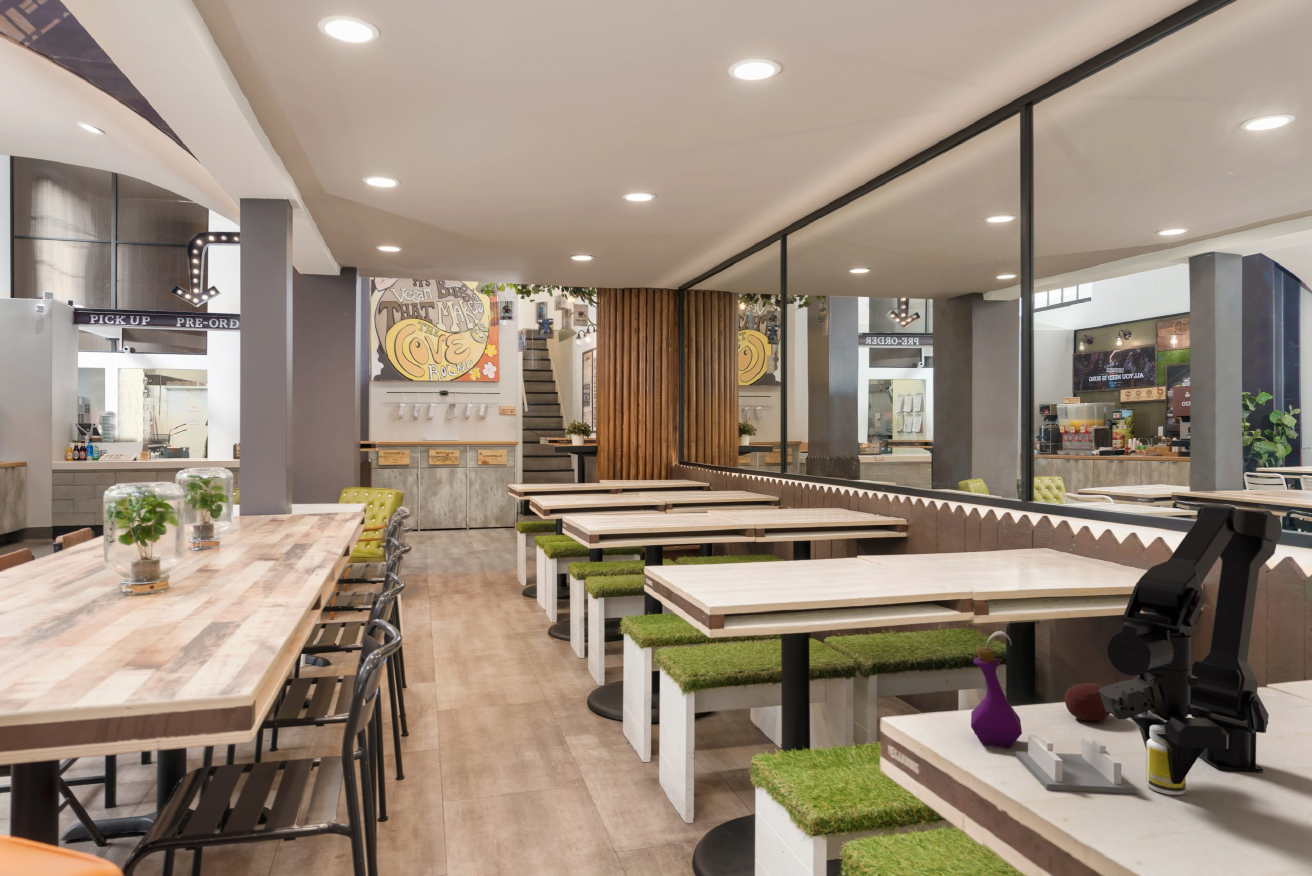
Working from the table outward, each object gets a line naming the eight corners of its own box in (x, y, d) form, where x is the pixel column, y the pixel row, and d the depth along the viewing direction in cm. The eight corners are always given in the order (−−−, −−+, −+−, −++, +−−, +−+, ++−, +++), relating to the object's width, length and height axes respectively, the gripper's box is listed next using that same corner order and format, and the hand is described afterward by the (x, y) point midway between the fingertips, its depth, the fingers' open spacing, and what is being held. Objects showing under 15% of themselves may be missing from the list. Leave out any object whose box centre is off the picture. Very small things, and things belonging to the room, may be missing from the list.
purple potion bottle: (970, 746, 129) (972, 634, 129) (971, 731, 136) (972, 624, 136) (1021, 754, 127) (1023, 639, 127) (1019, 738, 133) (1021, 629, 134)
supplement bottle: (1191, 797, 111) (1192, 736, 111) (1154, 794, 112) (1154, 733, 112) (1176, 783, 116) (1177, 724, 116) (1140, 780, 117) (1141, 722, 117)
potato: (1054, 717, 144) (1054, 683, 144) (1084, 707, 150) (1085, 674, 150) (1095, 730, 138) (1095, 694, 138) (1125, 719, 144) (1126, 684, 144)
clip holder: (1095, 760, 124) (1096, 728, 124) (1135, 793, 112) (1136, 759, 112) (1015, 756, 125) (1015, 725, 125) (1046, 789, 113) (1047, 755, 113)
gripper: (1078, 646, 124) (1077, 748, 124) (1142, 682, 105) (1140, 802, 105) (1154, 649, 123) (1153, 751, 123) (1231, 685, 105) (1230, 806, 105)
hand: (1165, 775), depth 114 cm, fingers closed on supplement bottle, 5 cm apart
